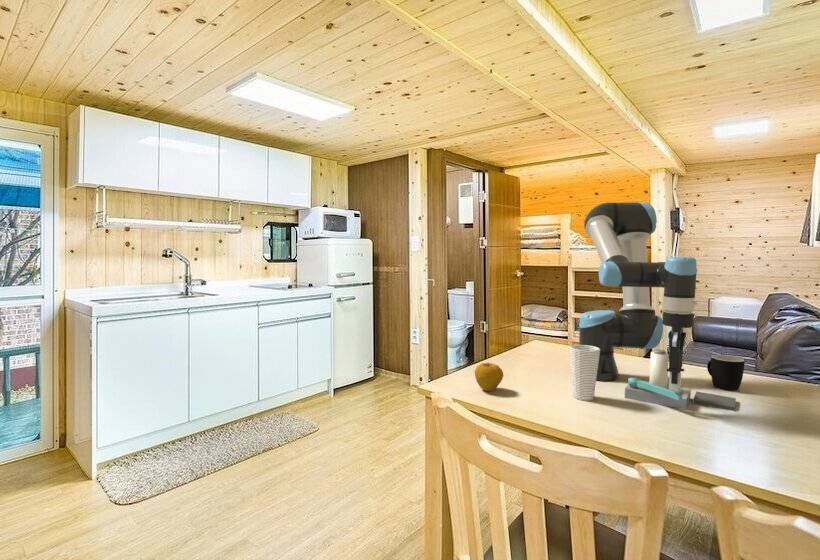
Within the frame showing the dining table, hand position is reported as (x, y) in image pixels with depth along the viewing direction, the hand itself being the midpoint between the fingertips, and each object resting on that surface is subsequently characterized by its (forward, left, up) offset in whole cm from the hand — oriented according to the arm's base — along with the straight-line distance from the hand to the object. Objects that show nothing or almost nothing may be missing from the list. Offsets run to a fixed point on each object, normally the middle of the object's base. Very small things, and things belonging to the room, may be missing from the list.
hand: (674, 393), depth 124 cm
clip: (-5, +1, -1) cm, 5 cm away
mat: (+9, +15, -5) cm, 18 cm away
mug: (+10, +35, -5) cm, 36 cm away
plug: (-5, +8, -5) cm, 10 cm away
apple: (-49, -18, -5) cm, 53 cm away
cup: (-23, -6, -5) cm, 24 cm away
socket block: (-5, +8, -5) cm, 10 cm away
